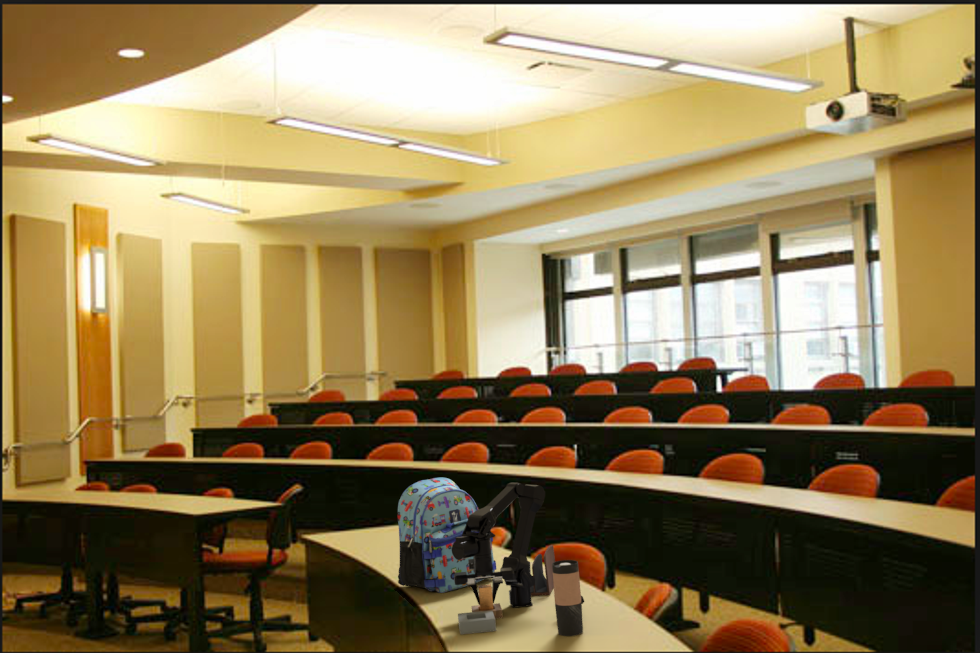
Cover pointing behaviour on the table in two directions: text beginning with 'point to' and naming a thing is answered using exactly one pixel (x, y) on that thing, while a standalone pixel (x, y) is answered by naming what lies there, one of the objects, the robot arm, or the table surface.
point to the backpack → (433, 534)
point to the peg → (485, 597)
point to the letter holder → (541, 583)
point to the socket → (476, 622)
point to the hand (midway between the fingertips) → (486, 603)
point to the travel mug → (567, 597)
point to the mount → (496, 609)
